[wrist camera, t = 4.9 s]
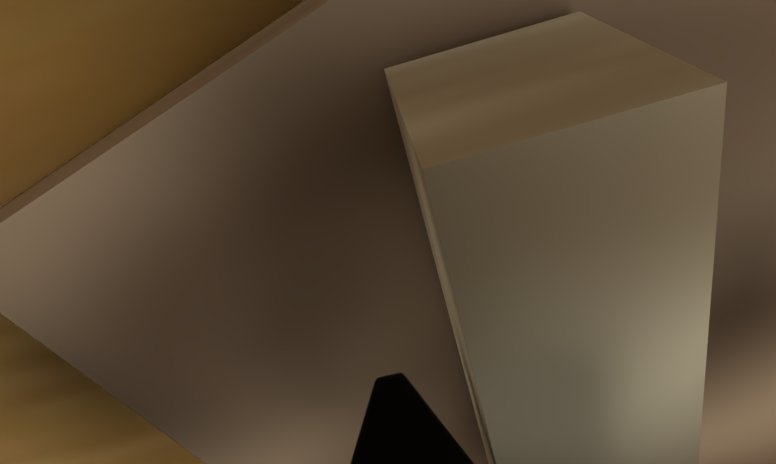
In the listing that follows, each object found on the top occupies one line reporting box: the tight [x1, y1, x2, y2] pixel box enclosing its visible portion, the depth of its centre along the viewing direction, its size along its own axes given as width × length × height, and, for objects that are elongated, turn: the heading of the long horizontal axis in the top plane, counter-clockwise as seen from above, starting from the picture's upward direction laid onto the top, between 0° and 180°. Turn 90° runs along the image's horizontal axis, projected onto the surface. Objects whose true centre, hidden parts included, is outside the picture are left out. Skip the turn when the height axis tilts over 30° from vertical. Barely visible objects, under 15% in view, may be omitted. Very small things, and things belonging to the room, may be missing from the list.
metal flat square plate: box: [0, 0, 776, 464], centre depth 14 cm, size 22×21×2 cm
